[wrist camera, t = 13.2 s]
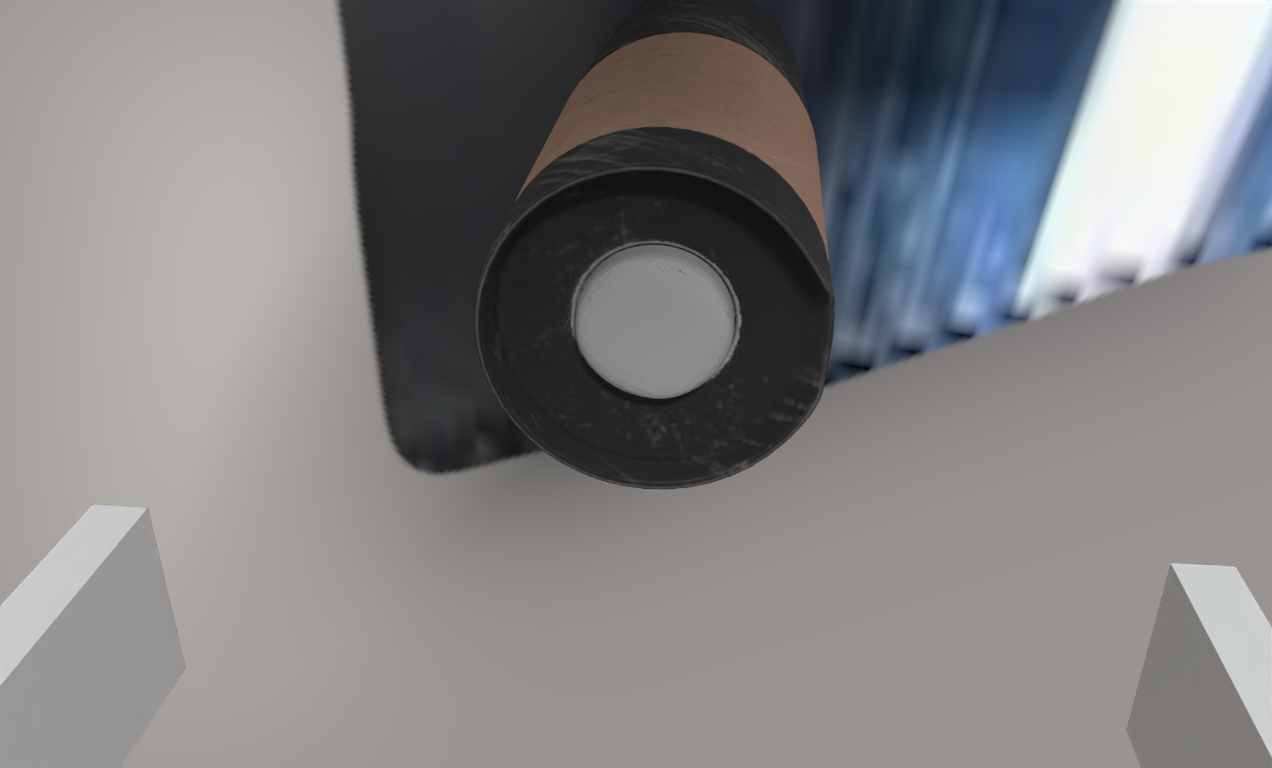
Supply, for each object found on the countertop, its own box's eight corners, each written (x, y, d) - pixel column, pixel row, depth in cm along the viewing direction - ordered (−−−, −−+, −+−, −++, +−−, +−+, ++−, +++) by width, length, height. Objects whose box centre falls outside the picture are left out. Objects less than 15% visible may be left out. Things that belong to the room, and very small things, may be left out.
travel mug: (547, 83, 41) (390, 321, 24) (707, -71, 38) (662, 72, 21) (689, 235, 44) (642, 554, 26) (852, 100, 41) (920, 359, 23)
